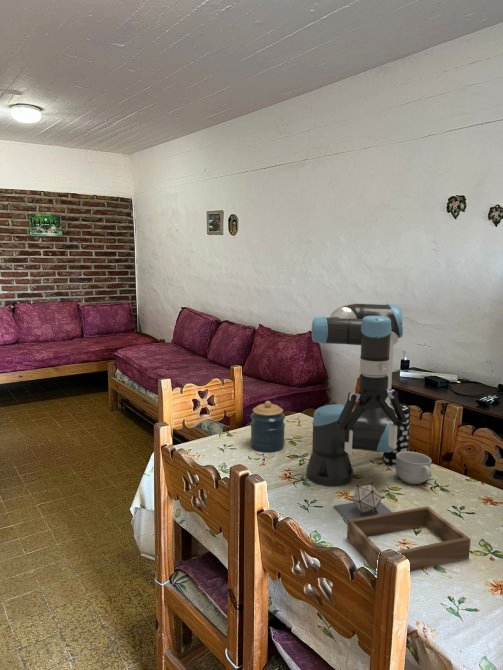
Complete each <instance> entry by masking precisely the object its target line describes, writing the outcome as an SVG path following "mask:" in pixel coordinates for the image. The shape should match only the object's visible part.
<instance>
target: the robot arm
mask: <svg viewBox="0 0 503 670" xmlns="http://www.w3.org/2000/svg"><path fill="white" fill-rule="evenodd" d="M403 332H404V326H403V314H402V310H401V307H400V306H399V305H396V304H388V303H386V304H377V303H376V304H374V303H373V304H372V303H351V304H347V305H343V306H340V307H337V308H336V309H334V310H333V311H332V312H331V314H330V316H329V317H325V316H322V317H321V316H319V317H314V318H313V319H312V323H311V339H312V341H313V343H318V344H322V345H323V344H332V345H333V344H334V345H335V344H336V345H350V346H351V345H352V346H360V355H359V356H360V359H359V360H360V361H359V373H360V375H359V379H358V380H359V381H358V382H359V383H358V387H359V392H358V393H353V392H348V394H347V401H346V403H345V404H338V403H337V404H335V403H333V404H328V405H323V406H322V405H321V406H320V407H317V409H315V410H314V412H313V417H312V418H313V419H312V449H311V450H312V452H311V455H310V457H309V460H308V463H307V465H306V477H307V479H309V481H311V482H313V483H316V484H317V485H318V484H319V485H322V486H328V487H330V486H331V487H337V486H344V485H347V484H349V483H351V482H352V481H353V479H354V468H353V465H352V463H351V460H350V456H349V455H352V454H353V450H360V451H367V452H374V453H375V452H376V453H384V452H391V451H393V449H396V442H397V436H399V428H400V426H402V423H403V422H404V423H405V422H406V421H407V420H406V417H405V415H404V412H403V410H402V407H401V405H400V404H401V403H400V400H399V393H398V391H397V390H395V389H392V382H393V381H392V379H393V360H394V359H393V358H394V345H396V344H397V343H398V342H399V339H400V338H403ZM358 400H359V401H358ZM357 402H358V403H357ZM390 404H392V406H393V408H394V409H393V408H392V407H391V406H390ZM355 406H356V407H355ZM395 413H396V415H395Z"/></svg>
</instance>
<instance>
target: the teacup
mask: <svg viewBox="0 0 503 670" xmlns="http://www.w3.org/2000/svg"><path fill="white" fill-rule="evenodd" d="M431 465H432V458H431V457H429V456H427V455H426V454H423V453H421V452H417V451H403V452H399V453H397V454H396V467H395V473H396V475H397V476H398V478H400V479H401V481H403V482H405V483H407V484H411V485H412V484H413V485H420V484H422V483H424V482H425V481H427V480H429V479H430V478H431V477H432V470H431Z"/></svg>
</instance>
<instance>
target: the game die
mask: <svg viewBox="0 0 503 670" xmlns="http://www.w3.org/2000/svg"><path fill="white" fill-rule="evenodd" d="M373 485H374V482H373V481H372V482H371V484H366V485H365V484H364V485H360V486H359V485H358V484H356V487H357V488H356V490H355V493H354V495H353V497H352V498H350V499H348V501H350V502H351V501H352V503H353V502H354V503H355V505H356V506H357V507H358V509H359V510H360V511H361V514H360V515H361V516H362V514H363V513H367V512H372V511H375V512H376V513H377V507H378V505H379V503H380V502H382V499H386V497H385V496H382V495H381V494H380V493H379V492H378V491H377V489H376V487H374V486H373Z"/></svg>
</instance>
